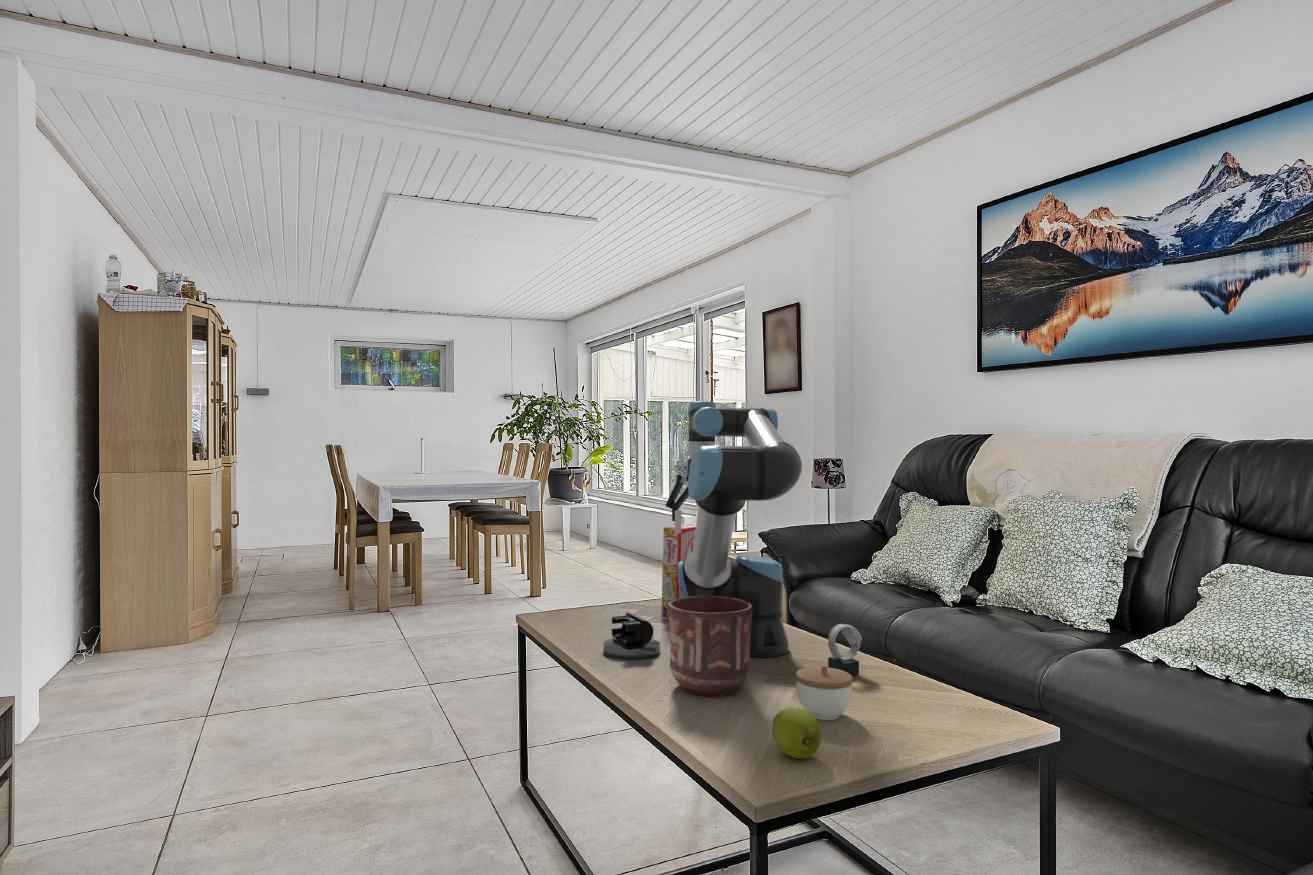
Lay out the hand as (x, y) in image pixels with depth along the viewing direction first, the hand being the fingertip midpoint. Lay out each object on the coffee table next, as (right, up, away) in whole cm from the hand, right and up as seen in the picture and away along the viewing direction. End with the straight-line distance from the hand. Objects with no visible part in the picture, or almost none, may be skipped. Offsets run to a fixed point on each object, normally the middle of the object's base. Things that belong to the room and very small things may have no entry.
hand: (700, 535), depth 212 cm
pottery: (-1, -27, -47) cm, 54 cm away
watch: (+31, -27, -35) cm, 54 cm away
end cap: (-18, -25, -20) cm, 37 cm away
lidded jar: (+20, -27, -62) cm, 71 cm away
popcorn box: (-3, -27, +22) cm, 35 cm away
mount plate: (-18, -26, -20) cm, 38 cm away
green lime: (+12, -27, -82) cm, 87 cm away
